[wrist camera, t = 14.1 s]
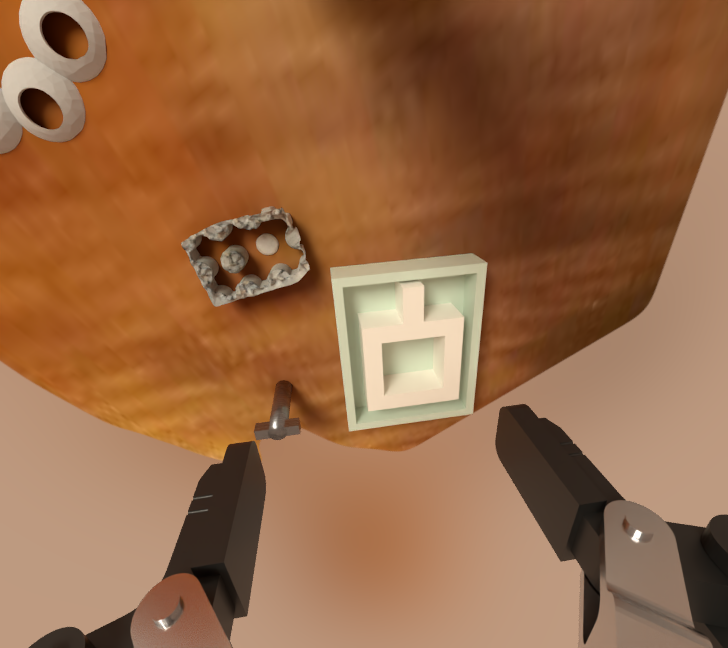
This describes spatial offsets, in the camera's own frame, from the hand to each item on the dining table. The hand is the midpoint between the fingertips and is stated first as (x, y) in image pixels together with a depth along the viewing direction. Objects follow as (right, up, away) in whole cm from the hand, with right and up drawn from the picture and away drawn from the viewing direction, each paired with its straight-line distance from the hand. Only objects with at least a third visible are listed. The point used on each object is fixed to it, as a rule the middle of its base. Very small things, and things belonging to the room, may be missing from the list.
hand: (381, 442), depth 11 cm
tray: (+4, +2, +31) cm, 32 cm away
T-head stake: (-11, -4, +32) cm, 34 cm away
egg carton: (-12, +12, +25) cm, 30 cm away
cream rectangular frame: (+4, +3, +30) cm, 30 cm away
